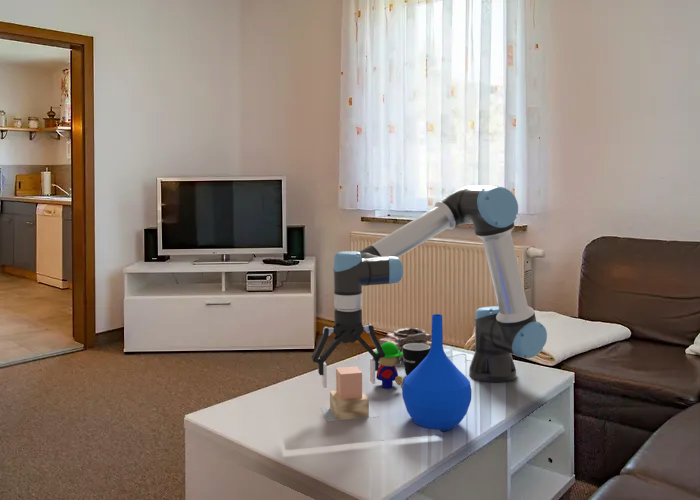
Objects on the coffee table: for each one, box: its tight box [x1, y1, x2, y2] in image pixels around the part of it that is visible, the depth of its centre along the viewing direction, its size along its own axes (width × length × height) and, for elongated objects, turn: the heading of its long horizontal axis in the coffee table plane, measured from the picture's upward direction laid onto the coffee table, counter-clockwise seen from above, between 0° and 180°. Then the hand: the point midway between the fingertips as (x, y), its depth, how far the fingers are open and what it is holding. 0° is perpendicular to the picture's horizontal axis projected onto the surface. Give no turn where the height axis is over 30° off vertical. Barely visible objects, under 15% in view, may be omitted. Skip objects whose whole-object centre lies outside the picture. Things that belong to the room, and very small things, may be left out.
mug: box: [402, 343, 430, 377], centre depth 213 cm, size 12×9×10 cm
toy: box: [374, 342, 404, 390], centre depth 201 cm, size 11×9×15 cm
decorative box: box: [378, 327, 432, 360], centre depth 235 cm, size 13×20×10 cm, turn 120°
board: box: [320, 403, 379, 422], centre depth 180 cm, size 14×10×1 cm
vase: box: [401, 313, 473, 432], centre depth 172 cm, size 18×18×30 cm
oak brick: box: [329, 389, 370, 421], centre depth 179 cm, size 9×9×5 cm
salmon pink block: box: [335, 365, 363, 399], centre depth 179 cm, size 6×6×7 cm
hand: (348, 384), depth 179 cm, fingers open, 13 cm apart
